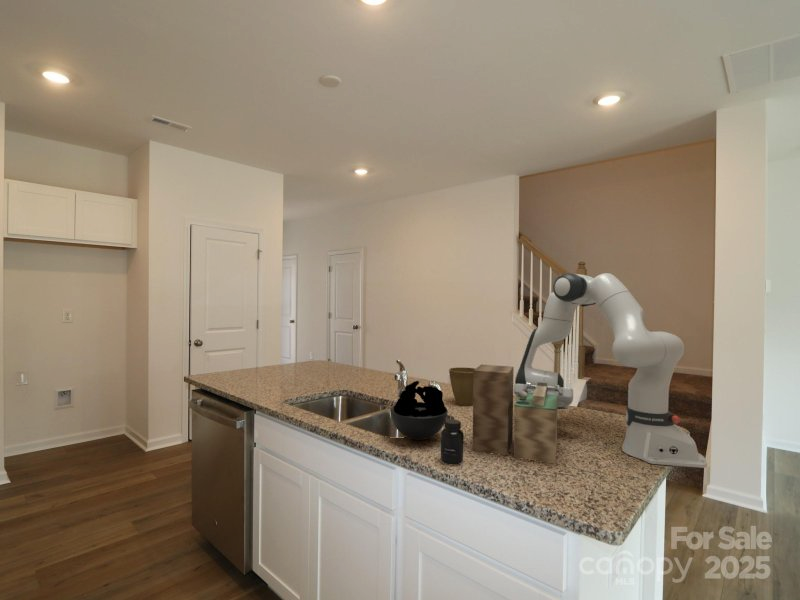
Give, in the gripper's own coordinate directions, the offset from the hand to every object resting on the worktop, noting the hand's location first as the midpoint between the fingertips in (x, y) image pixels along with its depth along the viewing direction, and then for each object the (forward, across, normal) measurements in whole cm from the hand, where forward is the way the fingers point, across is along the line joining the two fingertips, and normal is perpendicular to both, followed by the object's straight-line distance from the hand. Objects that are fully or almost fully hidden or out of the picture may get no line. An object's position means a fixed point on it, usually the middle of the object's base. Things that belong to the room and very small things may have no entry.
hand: (542, 385), depth 144 cm
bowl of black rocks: (+4, -40, +24) cm, 47 cm away
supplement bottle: (+17, -24, +32) cm, 43 cm away
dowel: (+6, 0, +6) cm, 9 cm away
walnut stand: (+2, -14, +23) cm, 27 cm away
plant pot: (-42, -36, -2) cm, 56 cm away
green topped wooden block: (0, -1, +22) cm, 22 cm away
